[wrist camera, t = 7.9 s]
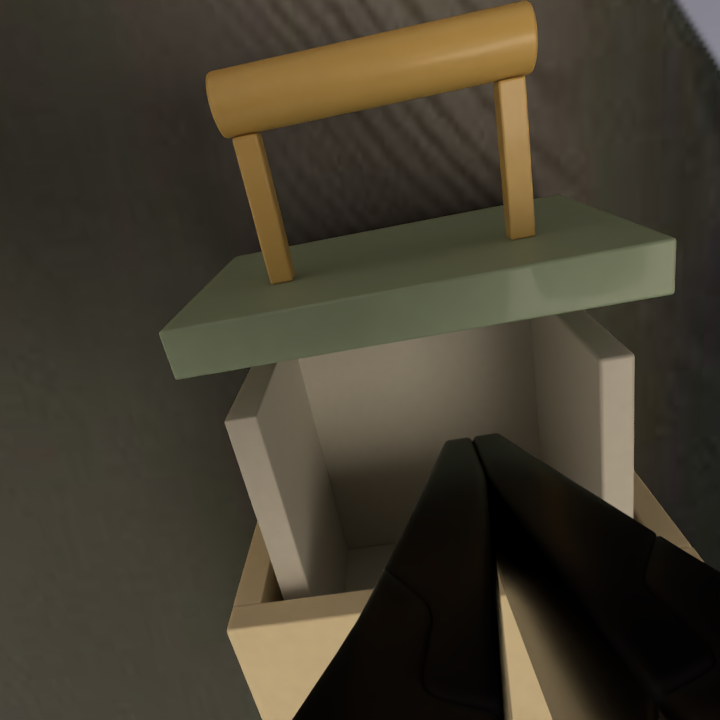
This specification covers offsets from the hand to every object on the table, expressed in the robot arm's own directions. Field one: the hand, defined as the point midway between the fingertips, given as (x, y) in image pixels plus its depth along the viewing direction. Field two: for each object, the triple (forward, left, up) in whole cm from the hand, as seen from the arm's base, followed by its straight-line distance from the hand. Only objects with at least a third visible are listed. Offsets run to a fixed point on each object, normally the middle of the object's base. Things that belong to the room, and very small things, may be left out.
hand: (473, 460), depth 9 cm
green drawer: (0, +2, -11) cm, 11 cm away
